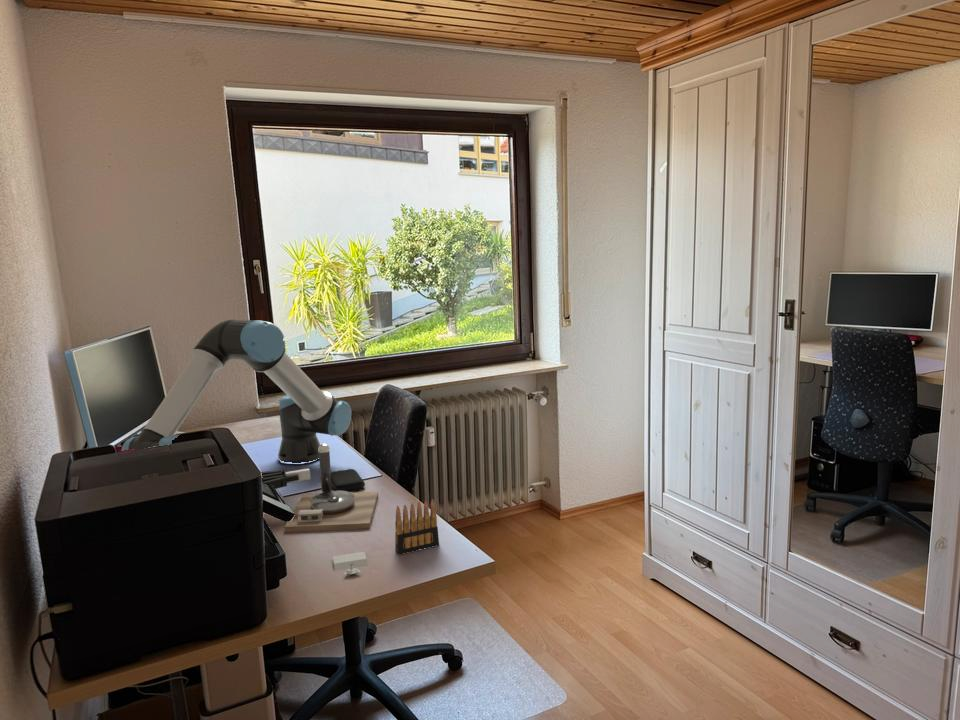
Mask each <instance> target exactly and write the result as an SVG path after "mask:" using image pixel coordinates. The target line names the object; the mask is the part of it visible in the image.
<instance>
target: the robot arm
mask: <svg viewBox="0 0 960 720" xmlns="http://www.w3.org/2000/svg"><path fill="white" fill-rule="evenodd" d="M284 338H285V336H284V333H283V331H282V330H281V329H280V327H278V326H277V325H276V324H274V322H273V323H272V322H270V321H265V320H254V319H253V320H247V319H246V320H245V319H243V320H242V319H241V320H240V319H227V320H223V321H220V322H219V323H217V324H215V326H214V325H213V327H212V328H211V329H209V330H208V331H207V332H206V333H205V334H204V335H203V336H202V337H201V338H200V340H199V341H198V342H197V343H196V345H194V348H193V349H192V351H191V355H192V357H191V358H190V360H189V362H188V363H187V365H186V366H185V367H184V369H183V370H182V372H181V373H180V375H179V376H178V377H177V379H176V380H175V382H174V384H173V385H172V387H171V388H170V390H169V391H168V392H167V393H166V395H165V397H164V398H163V399H162V401H161V403H160V404H159V405H158V407H157V408H156V410H155V411H154V413H153V414H152V415H151V416H150V419H149V420H148V421H147V423H146V425H145V426H144V427H143V429H142V431H141V432H140V433H139V435H137V436H133V437H130V438H128V439H126V441H124V442H123V444H122V446H121V449H120V450H121V451H124V450H131V449H143V448H148V447H153V446H161V445H168V444H171V443H172V440H174V439H175V438H177V437H178V436H179V435H180V434H176V433H177V432H178V430H179V429H180V427H181V426H182V424H183V423H184V421H185V419H186V417H187V416H188V415H189V413H190V412H191V410H192V409H193V407H194V405H195V404H196V402H197V400H198V399H199V398H200V396H201V395H202V393H203V392H204V390H205V388H206V387H207V385H208V384H209V383H210V381H211V380H212V378H213V377H214V375H215V374H216V372H217V370H218V371H219V370H222V369H223V367H225V364H226V363H228V362H229V361H230V360H231V361H232V360H238V361H244V362H245V363H246V364H247V365H248V366H250V368H251V369H253V371H255V372H257V373H264V374H265V375H266V376H268V378H269V379H270V380H271V381H272V382H273V383H274V384H275V385H277V386H278V388H280V389H281V390H282V392H283V393H284V394H286V395H285V396H282V397H281V398H280V399H279V402H278V405H279V408H278V411H279V419H280V420H279V422H280V431H281V442H280V446H279V449H278V454H277V455H278V456H277V457H278V458H279V459H280V460H281V461H284V462H292V463H301V462H309V461H313V460H316V459H318V458H319V451H318V448H319V446H320V445H321V444H320V441H319V438H318V436H317V434H322V435H327V436H328V435H329V436H330V437H331V436H341V435H343V434H344V433H346V432H347V430H348V428H349V426H350V423H351V421H352V409H351V406H350V404H349V402H347V401H344V400H338V399H336V398H335V397H334V396H333V395H332V394H331V392H329V391H327V390H321V389H320V388H319V387H318V385H316V384H315V383H314V381H313V380H312V379H311V378H310V377H309V376H308V375H307V374H306V373H305V372H304V371H303V370H302V369H301V367H299V366H298V365H297V363H296V362H295V361H294V360H293V359H292V358H291V357H290V356H289V355H288V354H287V353H286V352H287V351H286V341H285V340H284ZM260 472H261V473H262V477H263V484H266V483H267V484H272V485H273V486H274V488H275V489H274V490H276V489H280V488H284V487H285V488H286V487H288V484H289V483H296V482H301V481H306V480H311V479H312V478H311V470H310V468H309V467H308V468H303V469H296V470H291V471H290V470H289V471H286V470H285V468H283V469H282V470H281V469H279V470H269V471H260Z"/></svg>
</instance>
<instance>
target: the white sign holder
mask: <svg viewBox="0 0 960 720" xmlns="http://www.w3.org/2000/svg"><path fill="white" fill-rule="evenodd" d="M367 560H368V559H367V555H366V552H365V551H360V552H359V551H358V552H353V553H352V552H351V553H346V554H339V555H333V556H332V561H333V569H334V572H337V571H343V570H346V571H345V572H344V573H343V575H345V576H347V574H348V577H351V575H357V573H359V574H360V573H361V572H362V571H361V570H360V569H358V568H363V567H368V561H367Z"/></svg>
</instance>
